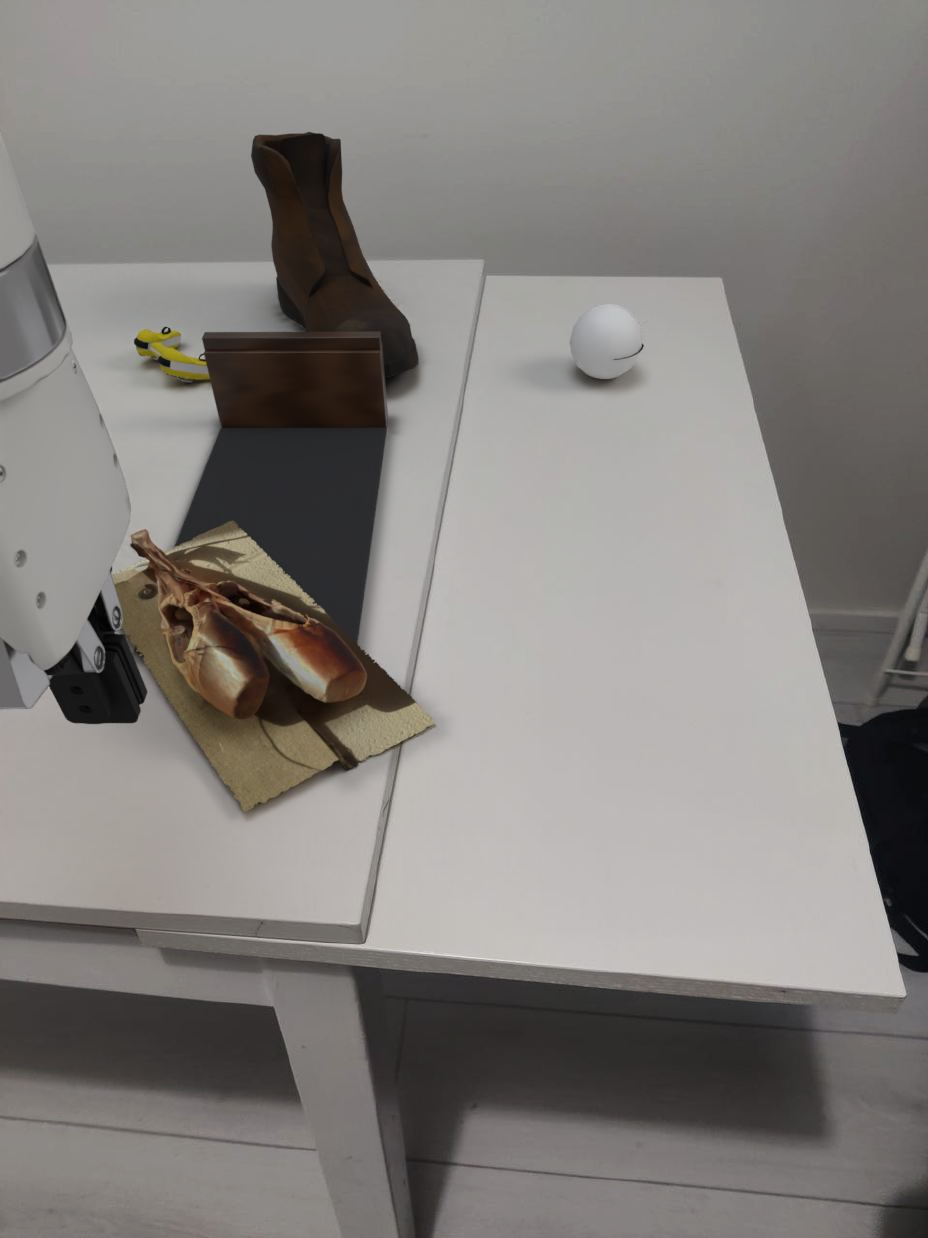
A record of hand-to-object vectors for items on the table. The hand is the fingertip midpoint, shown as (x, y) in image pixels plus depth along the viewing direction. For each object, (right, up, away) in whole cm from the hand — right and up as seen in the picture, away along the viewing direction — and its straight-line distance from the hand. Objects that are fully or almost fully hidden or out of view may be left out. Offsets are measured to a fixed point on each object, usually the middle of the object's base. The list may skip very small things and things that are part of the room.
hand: (109, 709), depth 39 cm
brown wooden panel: (0, +23, +46) cm, 51 cm away
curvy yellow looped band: (-14, +31, +54) cm, 64 cm away
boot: (+3, +35, +59) cm, 69 cm away
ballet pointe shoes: (0, +1, +24) cm, 24 cm away
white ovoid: (+32, +30, +53) cm, 68 cm away
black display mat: (0, +12, +34) cm, 36 cm away
